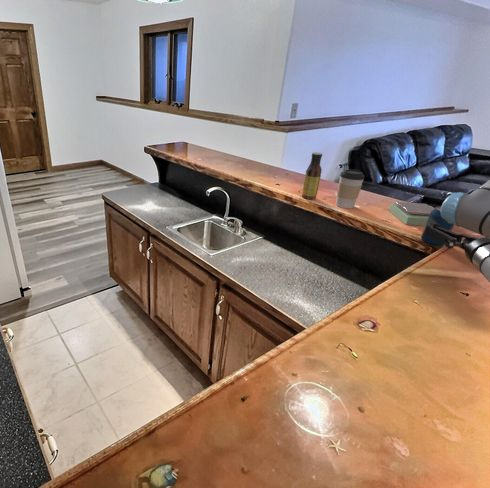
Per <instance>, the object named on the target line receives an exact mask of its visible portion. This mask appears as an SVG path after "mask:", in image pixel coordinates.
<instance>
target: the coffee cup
mask: <svg viewBox="0 0 490 488" xmlns="http://www.w3.org/2000/svg"><path fill="white" fill-rule="evenodd" d="M364 180H365V174H364V173H363V171H362V170H360V169H357V168H353V169H344V170H343V171H342V172H340V175H339V181H338V187H337V191H336V201H335V206H336V205H337V207H338V206H339V207H338V208H341V207H342V209H346V208H351V209H353V208H354V207H355V204H356V201H357V199H358V197H359V194H360V192H361V189H362V186H363V182H364Z"/></svg>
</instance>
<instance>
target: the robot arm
mask: <svg viewBox="0 0 490 488" xmlns="http://www.w3.org/2000/svg"><path fill="white" fill-rule="evenodd" d="M440 212H441V216H442V218H443V219H445V220H446V221H448V222H450V223H452V224H454V226H456V227H459V228H463V229H465V230H468V231H470V232H473V233H476V234H478V235H481V236H482V237H476V236H471V235H467V234H465V233H458V232H454V231H453V230H452V231H449V230H446V229H444V228H441V227H440V225H439V224H438V223H437V222H436V221H435V220H434V219H433V218H432V217H429V220H428V222H427V225H426V228H425V227H424V228H425V231H424V230H423V231H424V233H423V232H422V233H423V234H425V235H427V236H429V237H431V238H432V239H434V240H436V241H438V242H440V243H442V244H444V245H443V246H445V247H447V248H448V249H451V250H453V249H454V247H457V248H460V250H463V251H464V254H465V257H466V259H467V260H468V261H469V262H470V263H471V264H472V265H473V266H474V267H475V268H476V269H477V270H478V272H479V273H481V274H482V276H483V278H485V279H486V280H487V281H488V282H489V283H490V179H489V180H487V181H486V182H485V183H483V184H482V185H480V186H479V187H478V188H476V189H475V190H474V191H472V192H471V193H466V192H462V191H461V192H460V191H458V192H455V193H451V194H450V195H448V196H447V197H446V198H445V199H444V201H443V202H442V204H441V210H440Z"/></svg>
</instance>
